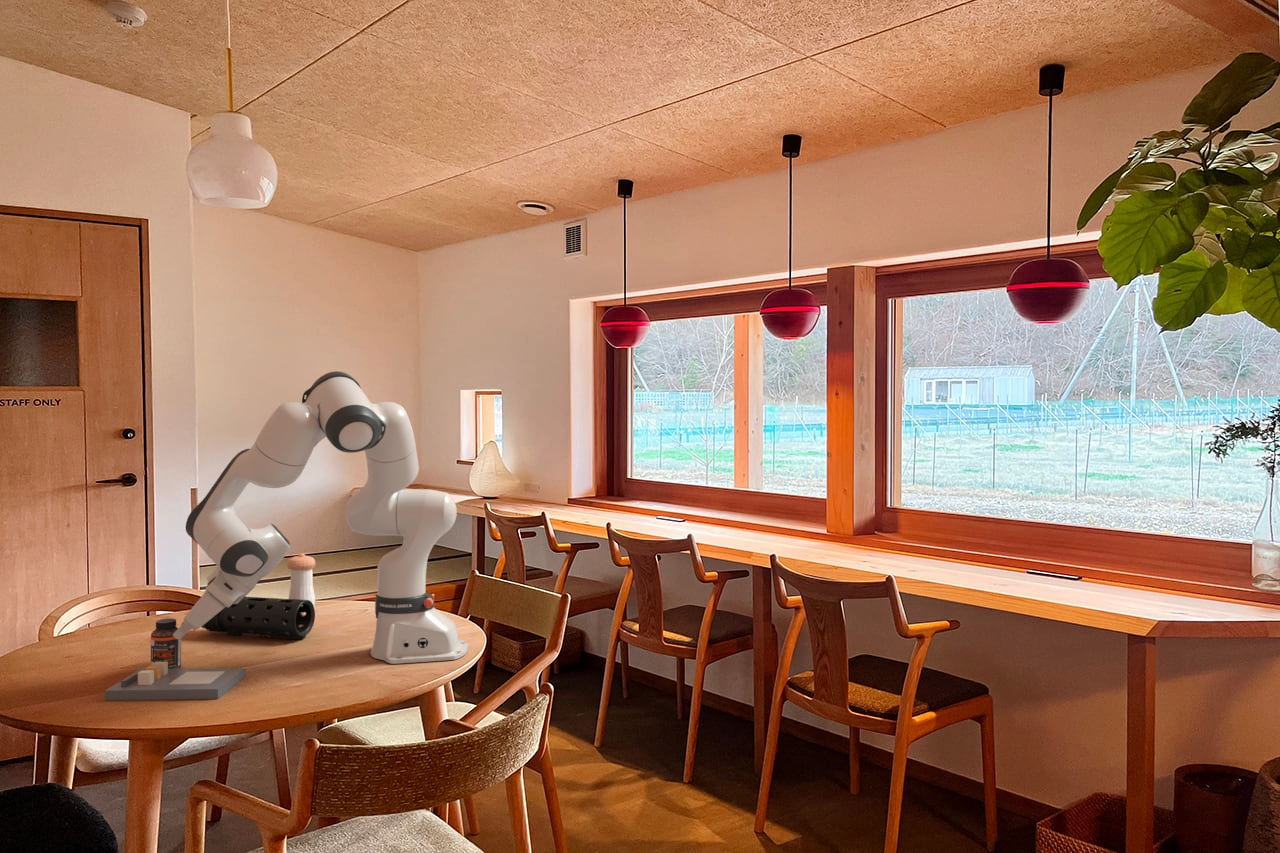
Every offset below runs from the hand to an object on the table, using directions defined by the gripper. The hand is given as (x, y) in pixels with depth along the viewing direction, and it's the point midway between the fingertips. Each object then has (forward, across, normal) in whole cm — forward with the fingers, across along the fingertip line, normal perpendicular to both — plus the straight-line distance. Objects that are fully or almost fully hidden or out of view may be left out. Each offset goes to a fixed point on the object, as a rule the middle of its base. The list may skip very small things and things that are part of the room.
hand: (180, 631), depth 195 cm
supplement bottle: (+8, -1, +4) cm, 9 cm away
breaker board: (+5, +13, +8) cm, 16 cm away
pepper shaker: (-10, -34, +22) cm, 42 cm away
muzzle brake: (-3, -26, +15) cm, 30 cm away
